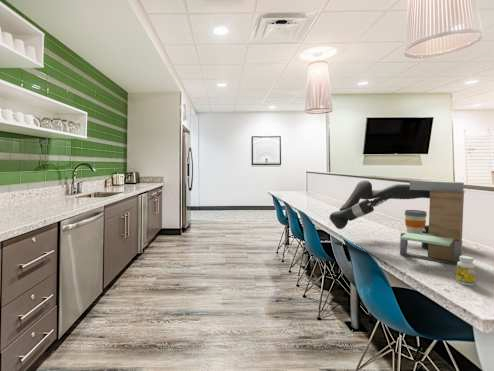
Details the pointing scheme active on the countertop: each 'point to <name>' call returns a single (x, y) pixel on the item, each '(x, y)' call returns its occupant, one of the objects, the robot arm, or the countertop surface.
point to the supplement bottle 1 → (426, 231)
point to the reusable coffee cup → (415, 221)
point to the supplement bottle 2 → (466, 271)
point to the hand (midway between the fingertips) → (389, 195)
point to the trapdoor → (427, 238)
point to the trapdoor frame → (456, 257)
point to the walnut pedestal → (445, 221)
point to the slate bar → (437, 186)
